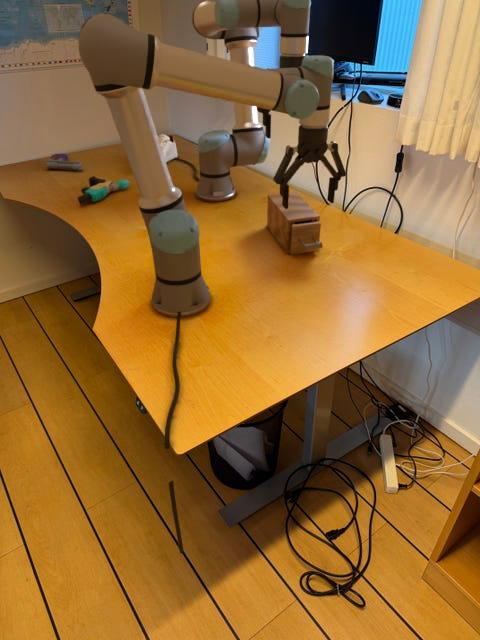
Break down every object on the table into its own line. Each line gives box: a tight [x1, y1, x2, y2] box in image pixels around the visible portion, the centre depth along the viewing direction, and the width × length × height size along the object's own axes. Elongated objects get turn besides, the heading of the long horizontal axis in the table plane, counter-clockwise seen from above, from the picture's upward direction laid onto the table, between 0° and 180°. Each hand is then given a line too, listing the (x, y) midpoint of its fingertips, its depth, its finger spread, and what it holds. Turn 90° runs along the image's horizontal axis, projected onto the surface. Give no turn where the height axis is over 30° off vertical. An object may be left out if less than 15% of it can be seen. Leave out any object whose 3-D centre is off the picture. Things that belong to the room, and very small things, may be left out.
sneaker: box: [158, 133, 179, 163], centre depth 214 cm, size 10×29×12 cm, turn 163°
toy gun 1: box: [44, 152, 84, 171], centre depth 216 cm, size 4×19×15 cm
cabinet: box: [266, 191, 321, 254], centre depth 153 cm, size 20×10×11 cm, turn 15°
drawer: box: [289, 220, 323, 255], centre depth 148 cm, size 26×9×9 cm, turn 15°
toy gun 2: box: [77, 175, 130, 205], centre depth 186 cm, size 4×26×15 cm
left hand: (308, 204), depth 134 cm, fingers open, 13 cm apart
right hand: (289, 135), depth 142 cm, fingers open, 13 cm apart
